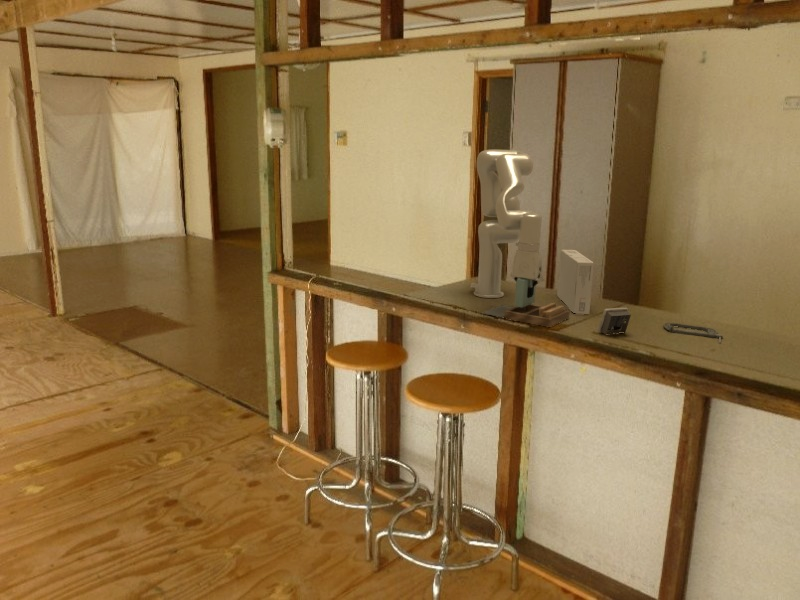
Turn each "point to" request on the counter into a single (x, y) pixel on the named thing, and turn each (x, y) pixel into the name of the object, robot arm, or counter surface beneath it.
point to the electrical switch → (614, 320)
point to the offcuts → (550, 310)
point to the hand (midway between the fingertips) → (525, 295)
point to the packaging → (575, 281)
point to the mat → (497, 311)
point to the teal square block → (523, 293)
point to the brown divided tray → (534, 315)
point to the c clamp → (710, 332)
